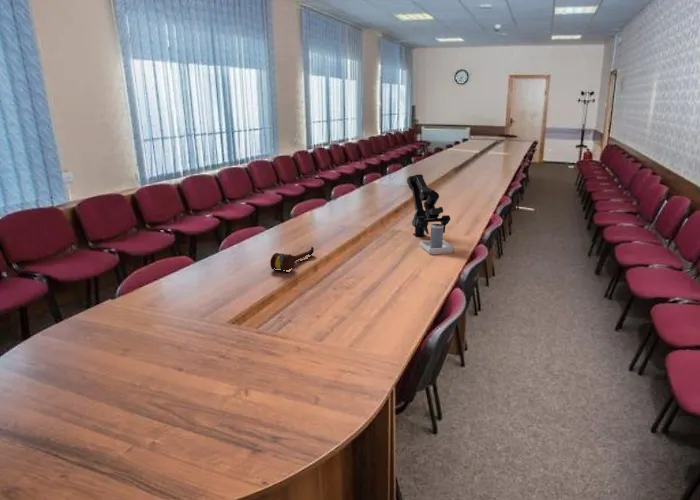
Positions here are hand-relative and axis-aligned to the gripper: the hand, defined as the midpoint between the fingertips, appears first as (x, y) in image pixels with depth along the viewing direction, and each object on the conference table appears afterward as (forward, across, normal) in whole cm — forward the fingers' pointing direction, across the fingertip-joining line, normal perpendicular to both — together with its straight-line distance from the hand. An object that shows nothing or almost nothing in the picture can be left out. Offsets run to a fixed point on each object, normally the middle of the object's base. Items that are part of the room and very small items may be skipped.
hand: (436, 233), depth 266 cm
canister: (+6, 0, +5) cm, 8 cm away
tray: (+7, 0, +5) cm, 9 cm away
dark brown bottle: (+14, -79, -2) cm, 80 cm away
